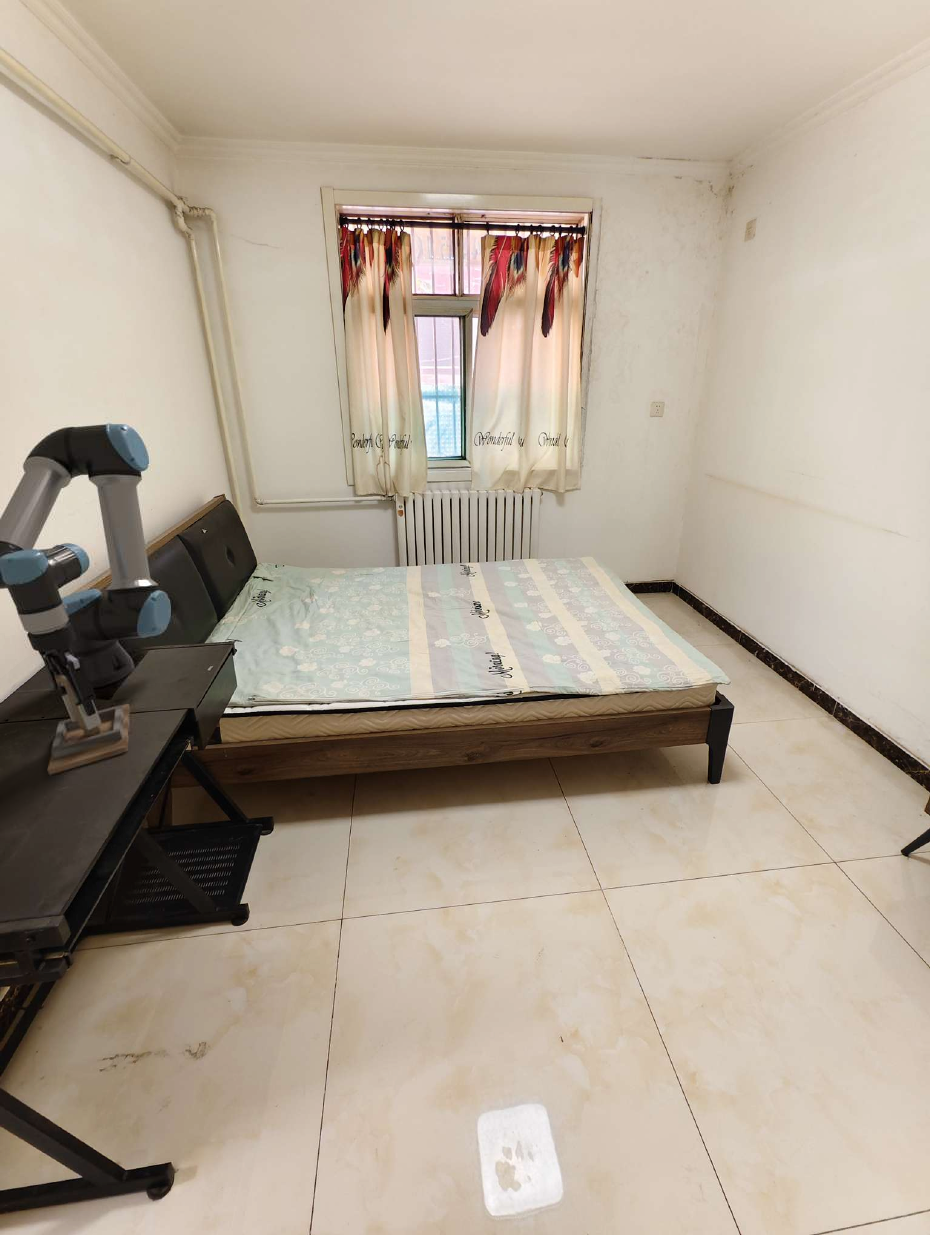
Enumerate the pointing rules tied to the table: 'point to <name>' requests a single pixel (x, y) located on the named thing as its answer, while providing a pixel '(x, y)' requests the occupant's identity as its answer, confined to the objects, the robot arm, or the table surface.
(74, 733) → the collar board
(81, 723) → the handle
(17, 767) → the table surface
